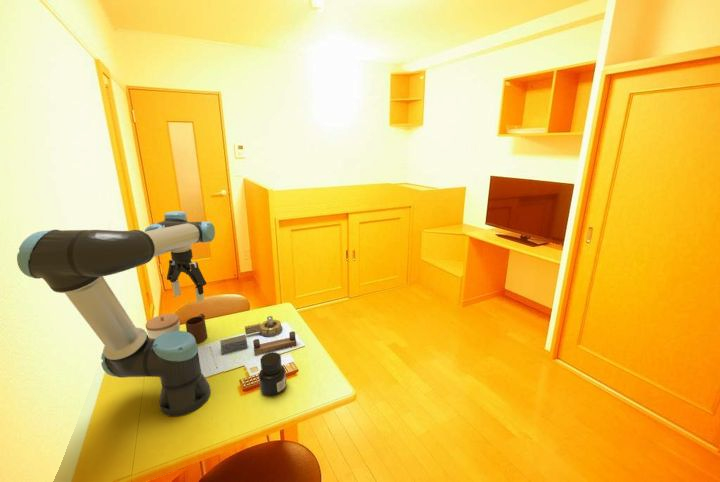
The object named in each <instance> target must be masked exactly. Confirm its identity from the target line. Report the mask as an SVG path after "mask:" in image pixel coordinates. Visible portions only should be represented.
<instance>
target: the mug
mask: <svg viewBox="0 0 720 482" xmlns="http://www.w3.org/2000/svg"><path fill="white" fill-rule="evenodd" d="M205 319H206V316H205V314H204V313H200V314H199V315H198V316H192V317H190V318H188V319H187V320H186V321H185V329H186V332H188V333H190V334H192V335H193V336H194V338H195V340H196V344H197V345H198V344H200V343H203V342H204V341H206V340H207V339H208V332H207V331H208V330H207V325H206V320H205Z"/></svg>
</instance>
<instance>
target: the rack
mask: <svg viewBox="0 0 720 482" xmlns="http://www.w3.org/2000/svg"><path fill="white" fill-rule="evenodd" d="M288 335H289V337H286V338H283V339H277V340H273V341H267V342H264V343H261V342H260V339H259V338H257V339H254V340H253V341H252V342H253V343H252V344H253V351H254V356H259V355H263V354H264V355H265V354H267V353H272V352H277V351H281V350H285V349H288V348H289V347H290V348H293V347H292V346H294V347H297V346H296V345H297V339H296V332H295V331H293V330H292V331H290V332H289V333H288ZM290 348H289V349H290Z"/></svg>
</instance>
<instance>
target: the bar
mask: <svg viewBox="0 0 720 482" xmlns="http://www.w3.org/2000/svg"><path fill="white" fill-rule="evenodd" d="M219 344H220V350H221V351H220V352H221V355H227V354H230V353H234V352H238V351H242V350H246V349H247V350H248V348H249V347H248V341H247V336H246V334H242V335H238V336H237V335H236V336H234V337H229V338H225V339H222V340H220V341H219Z"/></svg>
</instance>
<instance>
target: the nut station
mask: <svg viewBox="0 0 720 482" xmlns="http://www.w3.org/2000/svg"><path fill="white" fill-rule="evenodd" d="M266 319H267V320H266V321H267V322H268V326H267V327H266V328H272V327H275V326H274V325H273V320H274V319H273V316H271V315H268V316H267V317H266ZM282 332H283V327H282V325H281V329H280V330H279V331H278V332H276V333H272V334H264V333H262V332H259V334H260V336H261V337H264V338H273V337H276V336H279V335H280V334H281V333H282Z"/></svg>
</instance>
